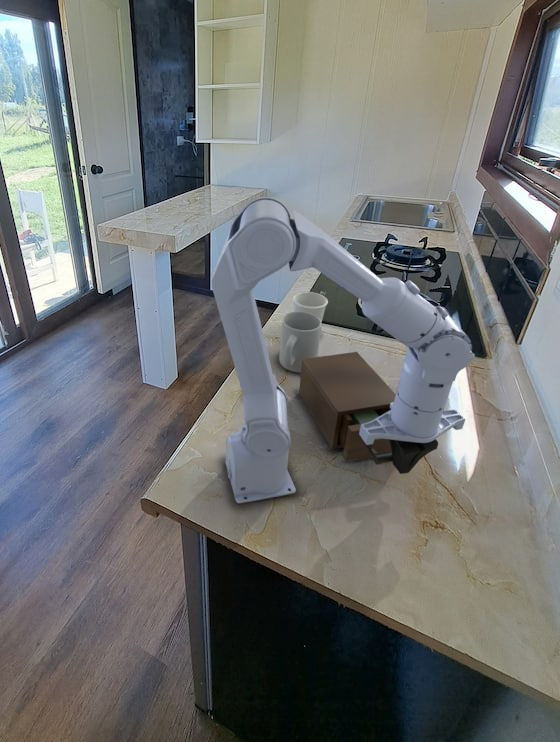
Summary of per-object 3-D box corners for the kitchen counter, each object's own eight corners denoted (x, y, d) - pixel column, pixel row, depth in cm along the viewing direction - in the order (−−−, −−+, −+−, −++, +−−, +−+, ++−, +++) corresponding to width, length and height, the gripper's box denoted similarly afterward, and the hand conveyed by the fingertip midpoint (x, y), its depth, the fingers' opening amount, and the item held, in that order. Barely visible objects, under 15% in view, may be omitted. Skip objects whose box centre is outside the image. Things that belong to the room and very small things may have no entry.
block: (356, 441, 65) (360, 424, 63) (345, 423, 68) (348, 406, 67) (378, 437, 65) (382, 420, 64) (365, 420, 69) (369, 403, 67)
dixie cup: (288, 339, 96) (291, 305, 92) (291, 323, 104) (294, 290, 99) (323, 344, 94) (327, 309, 90) (323, 327, 101) (328, 293, 97)
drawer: (421, 473, 60) (431, 442, 57) (360, 485, 59) (367, 453, 56) (360, 396, 76) (365, 369, 73) (311, 404, 75) (314, 376, 72)
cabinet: (393, 439, 68) (403, 401, 64) (332, 449, 66) (338, 412, 62) (350, 385, 81) (356, 351, 77) (298, 392, 79) (302, 358, 75)
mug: (287, 346, 94) (290, 307, 89) (321, 357, 89) (327, 316, 85) (267, 374, 85) (269, 332, 80) (304, 387, 80) (309, 343, 76)
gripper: (447, 371, 55) (426, 439, 61) (353, 384, 53) (341, 453, 59) (487, 405, 49) (460, 477, 55) (383, 421, 47) (366, 494, 53)
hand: (400, 467), depth 57 cm, fingers closed, pressing on drawer
